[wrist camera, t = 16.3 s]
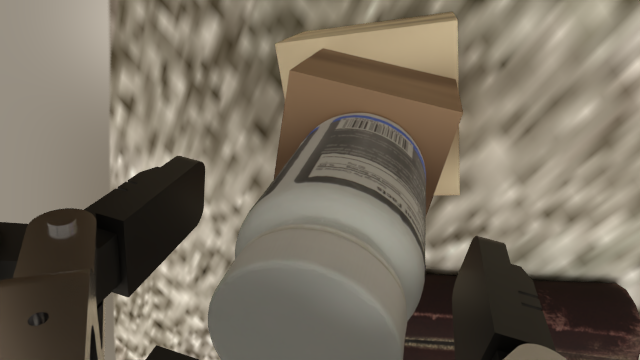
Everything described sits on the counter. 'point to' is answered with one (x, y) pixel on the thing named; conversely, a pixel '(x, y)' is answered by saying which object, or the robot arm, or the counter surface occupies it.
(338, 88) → the walnut block
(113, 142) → the counter surface
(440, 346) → the diary
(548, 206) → the counter surface
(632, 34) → the counter surface
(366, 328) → the pill bottle
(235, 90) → the counter surface
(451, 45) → the maple block
